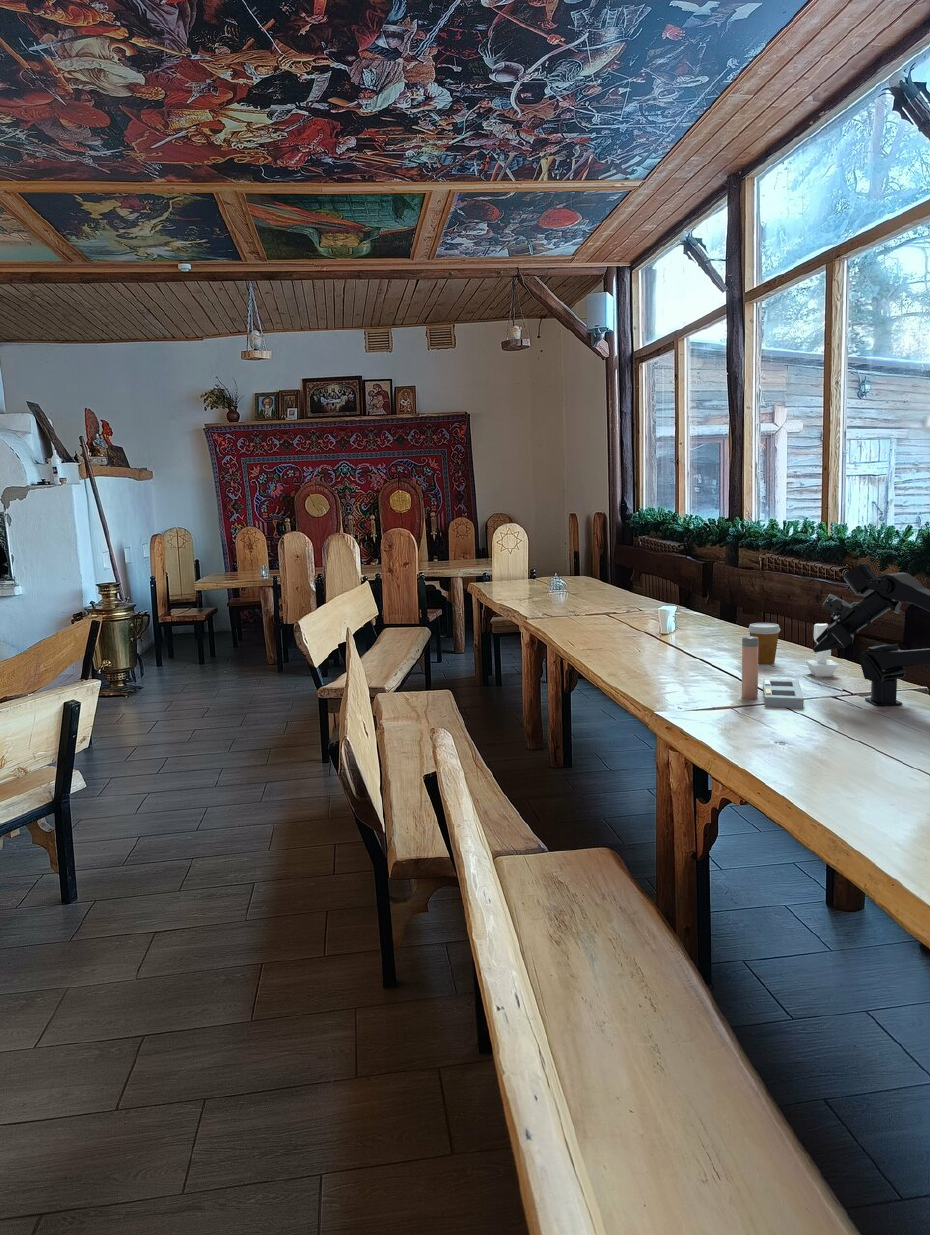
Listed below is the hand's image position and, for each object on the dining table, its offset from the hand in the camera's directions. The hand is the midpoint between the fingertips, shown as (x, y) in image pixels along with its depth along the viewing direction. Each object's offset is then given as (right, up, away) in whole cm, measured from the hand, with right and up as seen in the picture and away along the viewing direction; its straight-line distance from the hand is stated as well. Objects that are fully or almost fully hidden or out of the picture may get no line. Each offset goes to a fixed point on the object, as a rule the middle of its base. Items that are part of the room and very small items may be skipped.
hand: (815, 646), depth 209 cm
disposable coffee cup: (+3, -7, +43) cm, 44 cm away
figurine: (+12, -9, +24) cm, 28 cm away
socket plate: (-8, -13, +1) cm, 16 cm away
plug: (-16, -14, +3) cm, 21 cm away
